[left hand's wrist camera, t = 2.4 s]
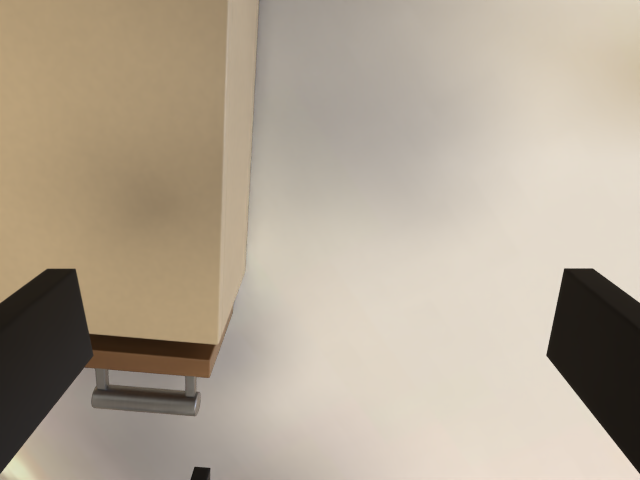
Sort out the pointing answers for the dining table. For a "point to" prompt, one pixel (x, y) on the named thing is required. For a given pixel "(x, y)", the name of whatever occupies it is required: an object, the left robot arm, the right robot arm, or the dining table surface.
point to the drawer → (150, 359)
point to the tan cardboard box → (129, 157)
